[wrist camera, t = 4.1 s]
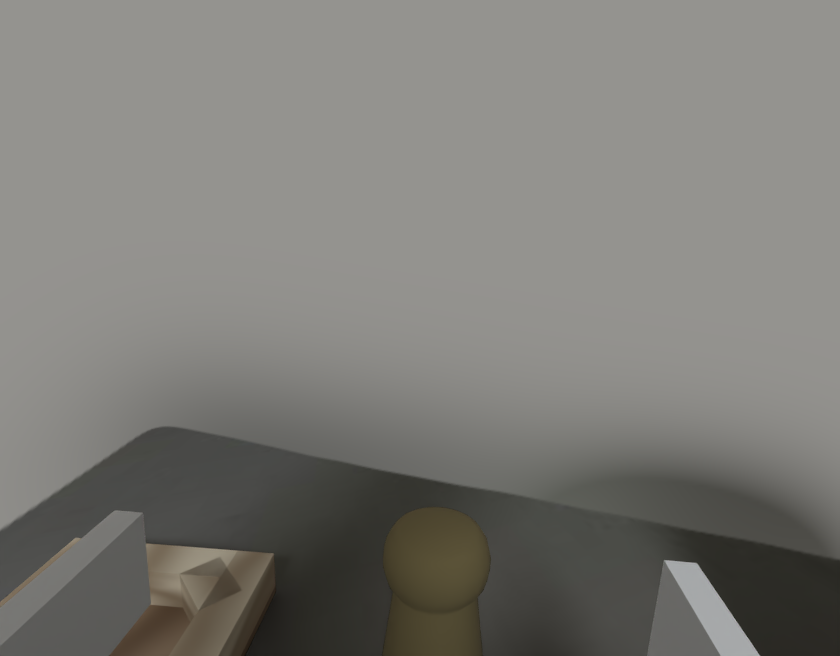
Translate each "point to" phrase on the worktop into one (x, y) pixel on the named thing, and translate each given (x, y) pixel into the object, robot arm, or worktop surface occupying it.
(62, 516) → the worktop surface
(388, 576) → the olive green peg
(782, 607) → the worktop surface
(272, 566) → the holder block
